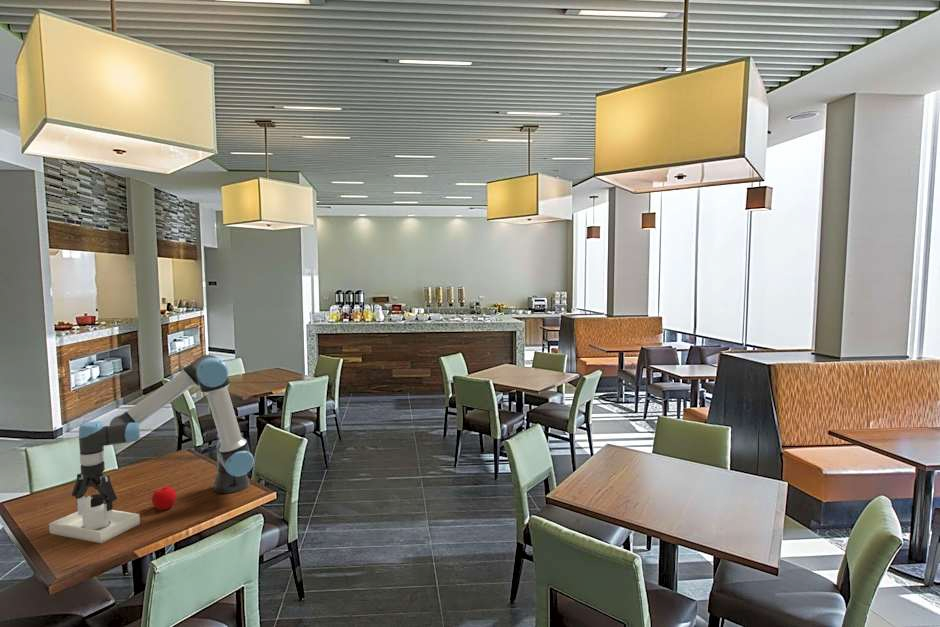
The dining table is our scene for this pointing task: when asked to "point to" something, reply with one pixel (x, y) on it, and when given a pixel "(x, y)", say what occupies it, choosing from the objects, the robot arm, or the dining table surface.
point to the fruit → (164, 498)
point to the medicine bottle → (94, 512)
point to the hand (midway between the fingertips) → (95, 516)
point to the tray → (75, 529)
